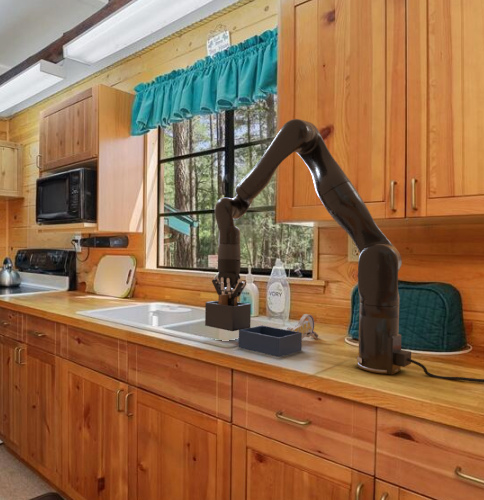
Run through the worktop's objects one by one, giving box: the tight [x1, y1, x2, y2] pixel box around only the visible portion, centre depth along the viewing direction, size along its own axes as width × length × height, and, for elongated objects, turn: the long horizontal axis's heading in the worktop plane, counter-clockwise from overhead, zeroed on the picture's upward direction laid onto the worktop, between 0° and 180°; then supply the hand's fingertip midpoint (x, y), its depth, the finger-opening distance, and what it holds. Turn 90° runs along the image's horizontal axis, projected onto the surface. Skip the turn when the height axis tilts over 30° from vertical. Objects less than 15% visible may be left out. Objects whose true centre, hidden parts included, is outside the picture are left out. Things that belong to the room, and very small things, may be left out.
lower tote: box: [238, 324, 303, 358], centre depth 133 cm, size 14×12×6 cm
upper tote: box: [204, 294, 252, 332], centre depth 146 cm, size 12×10×11 cm
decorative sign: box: [286, 313, 319, 340], centre depth 145 cm, size 18×1×10 cm, turn 129°
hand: (228, 308), depth 146 cm, fingers closed on upper tote, 1 cm apart
